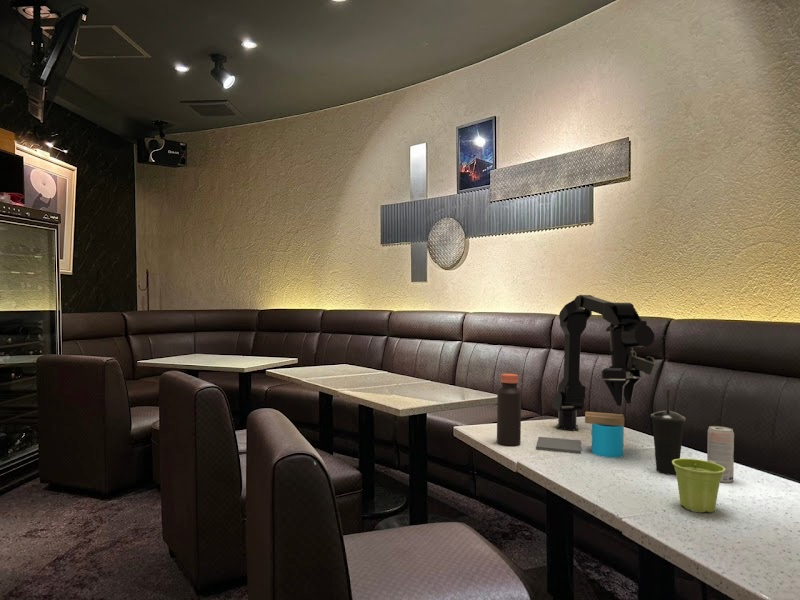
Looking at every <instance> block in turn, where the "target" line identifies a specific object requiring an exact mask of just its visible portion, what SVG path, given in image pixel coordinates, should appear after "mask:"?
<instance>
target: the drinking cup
mask: <svg viewBox="0 0 800 600" xmlns="http://www.w3.org/2000/svg"><path fill="white" fill-rule="evenodd" d="M670 393H671V390H669V389H666V410H660V411H656V412H653V413H651V414H650V417H651V420H652V430H653V431H652V433H653V434H652V435H653V444H654V455H655V457H654V458H655V468H656V469H655V470H656V472H657V473H659V474H660V473H661V474H664V475H671V476H672V475H674V476H675V475H677V474H676V471H675V468H674V465H673V464H672V461H673V460H675V459H681V453H682V451H681V450H682V444H683V443H682V442H683V434H684V426H685V421H686V417H685V416H684V415H681V414H680V413H678V412H675V411H672V410H671V409H670V407H671V406H670V403H671V394H670Z"/></svg>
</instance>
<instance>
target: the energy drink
mask: <svg viewBox="0 0 800 600" xmlns="http://www.w3.org/2000/svg"><path fill="white" fill-rule="evenodd" d="M733 430H734V429H733V428H730V427H726V426H720V425H712V426H711V425H710V426H708V429H707V449H706V451H707V454H706V455H707V457H706V458H707V459H706V461H708V462H712V463H716V464H719V465H721V466H723V467H724V468H725V472H723V474H722V478H721V479H720V483H722V484H725V483H726V484H728V483H732V482H733V481H734V468H735V465H734V464H735V461H734V460H735V454H734V452H735V432H734V431H733Z"/></svg>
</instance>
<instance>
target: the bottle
mask: <svg viewBox="0 0 800 600" xmlns="http://www.w3.org/2000/svg"><path fill="white" fill-rule="evenodd" d="M500 382H501V383H500V384H501V387H500V388H498V390H497V392H496V393H497V397H496V398H497V401H496V403H497V404H496V405H497V406H496V407H497V408H496V416H497V417H496V442H497V444H498V445H500V446H505V445H506V447H507V446H508V447H516V446H519V445H520V444H521V434H522V433H521V432H522V431H521V428H522V427H521V426H522V391H520V389H519V388H518V384H519V375H518V374H515V373H501V374H500Z"/></svg>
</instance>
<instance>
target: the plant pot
mask: <svg viewBox="0 0 800 600" xmlns="http://www.w3.org/2000/svg"><path fill="white" fill-rule="evenodd" d="M672 464H673V465H674V468H675V471H676V474H675V475H676V479H677V488H678V497H679V505H681V506H683V507H684V508H685V509H686V510H688V511H692V512H697V513H704V512H707V513H713V512H715V510H716V506H717V499H718V493H719V487H720V484H721V482H720V479H721V478H722V474H723V472H725V468H724V467H723V466H721V465H719V464H716V463H712V462H708V461H707V460H703V459H702V460H701V459H697V458H696V459H695V458H680V459H675V460H673V461H672Z"/></svg>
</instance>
